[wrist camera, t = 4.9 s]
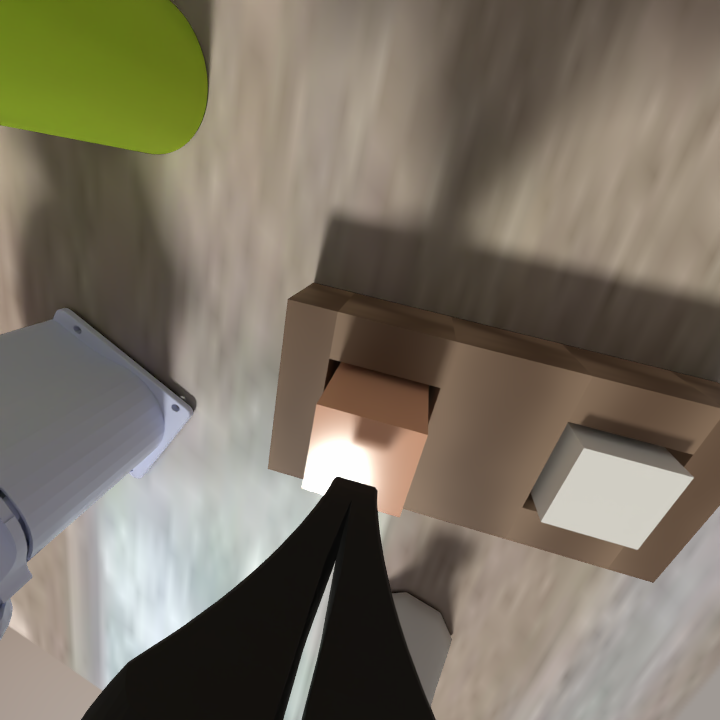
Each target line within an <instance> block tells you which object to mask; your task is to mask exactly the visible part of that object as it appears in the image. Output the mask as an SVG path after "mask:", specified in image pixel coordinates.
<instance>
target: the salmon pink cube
mask: <svg viewBox="0 0 720 720" xmlns="http://www.w3.org/2000/svg"><path fill="white" fill-rule="evenodd" d="M428 396H429V385H427V384H424V383H420V382H416V381H412V380H408V379H405V378H401V377H397V376H393V375H389V374H386V373H382V372H378V371H374V370H371V369H367V368H363V367H359V366H355V365H352V364H348V363H344V362H341V363H340V365H339V366H338V368H337V370H336V371H335V373H334V375H333V377H332V378H331V380H330V382H329V383H328V385H327V387H326V389H325V390H324V392H323V394H322V396H321V397H320V399H319V401H318V402H317V404H316V410H315V415H314V421H313V427H312V432H311V438H310V444H309V450H308V455H307V461H306V467H305V472H304V478H303V484H302V489H306V490H309V491H313V492H316V493H319V494H323V495H324V494H325V492H326V491H327V489H328V488H329V486H330V485H331V483H332V481H333V479H334V478H335V477H337V476H339V477H343V478H346V479H349V480H353V481H356V482H359V483H363V484H366V485H370V486H373V487H376V489H377V491H378V494H377V508H378V511H380V512H383V513H386V514H390V515H393V516H397V517H400V515H401V512H402V509H403V506H404V503H405V500H406V497H407V494H408V492H409V489H410V486H411V483H412V480H413V477H414V474H415V471H416V468H417V465H418V463H419V460H420V457H421V454H422V451H423V448H424V445H425V442H426V439H427V437H428Z"/></svg>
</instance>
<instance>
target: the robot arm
mask: <svg viewBox="0 0 720 720" xmlns="http://www.w3.org/2000/svg"><path fill="white" fill-rule="evenodd" d="M80 328H81V329H80ZM176 405H178V407H179V408H178V407H177V406H176ZM192 415H193V410H192V408H191V407H190V406H189V405H188V404H187V403H186V402H184V401H183V400H182V399H181V398H179V397H178V396H177V395H176V394H174V393H173V392H172V391H171V390H169V389H168V388H167V387H166V386H165V385H163V384H162V383H161V382H160V381H158V380H157V379H156V378H155V377H153V376H152V375H151V374H150V373H148V372H147V371H146V370H145V369H143V368H142V367H141V366H140V365H138V364H137V363H136V362H135V361H133V360H132V359H131V358H130V357H129V356H127V355H126V354H125V353H124V352H122V351H121V350H120V349H119V348H117V347H116V346H115V345H114V344H112V343H111V342H110V341H109V340H107V339H106V338H105V337H104V336H102V335H101V334H100V333H99V332H98V331H96V330H95V329H94V328H93V327H91V326H90V325H89V324H88V323H86V322H85V321H84V320H83V319H81V318H80V317H79V316H78V315H76V314H75V313H74V312H73V311H71V310H70V309H68V308H62V309H59V310H57V311H56V313H55V315H54V317H53V319H52V320H48V321H45V322H41V323H38V324H35V325H31V326H28V327H24V328H21V329H18V330H14V331H11V332H7V333H4V334H1V335H0V640H1V639H2V637H3V635H4V633H5V631H6V629H7V627H8V625H9V622H10V619H11V616H12V603H11V600H10V598H11V597H12V596H13V595H14V594H15V593H16V592H17V591H18V590H19V589H20V588H22V587H23V586H24V585H25V584H26V583H27V582H28V581H29V580H30V579H31V578H32V574H31V572H30V571H29V569H28V566H27V562H28V561H29V560H30V559H31V558H32V557H33V556H35V555H36V554H37V553H38V552H39V551H40V550H41V549H43V548H44V547H45V546H46V545H47V544H48V543H49V542H51V541H52V540H53V539H54V538H55V537H56V536H57V535H59V534H60V533H61V532H62V531H63V530H64V529H65V528H66V527H68V526H69V525H70V524H71V523H72V522H73V521H74V520H76V519H77V518H78V517H79V516H80V515H81V514H82V513H84V512H85V511H86V510H87V509H88V508H89V507H90V506H92V505H93V504H94V503H95V502H96V501H97V500H98V499H100V498H101V497H102V496H103V495H104V494H105V493H106V492H107V491H109V490H110V489H111V488H112V487H113V486H114V485H115V484H117V483H118V482H119V481H120V480H121V479H122V478H123V477H125V476H126V475H127V474H128V473H129V474H130V475H132V476H133V477H135V478H142V477H143V476H144V475H145V474H146V473H147V472H148V470H149V469H150V468H151V467H152V465H153V464H154V463H155V462H156V460H157V459H158V458H159V457H160V455H161V454H162V453H163V452H164V450H165V449H166V448H167V447H168V445H169V444H170V443H171V442H172V440H173V439H174V438H175V437H176V435H177V434H178V433H179V432H180V430H181V429H182V428H183V427H184V425H185V424H186V423H187V422H188V420H189V419H190V418H191V417H192ZM377 494H378V491H377V489H376V487H373V486H370V485H366V484H363V483H359V482H356V481H353V480H349V479H346V478H343V477H339V476H337V477H335V478H334V479H333V481H332V483H331V485H330V486H329V488H328V489H327V491H326V492H325V494H324V495H323V497H322V498H321V499H320V501H319V502H318V503H317V505H316V506H315V507H314V509H313V510H312V511H311V512H310V513H309V515H308V516H307V517H306V518H305V520H304V521H303V522H302V523H301V524H300V525H299V527H298V528H297V529H296V530H295V531H294V532H293V533H292V534H291V535H290V536H289V537H288V538H287V539H286V540H285V542H284V543H283V544H282V545H281V546H280V547H279V548H278V549H277V550H276V551H275V552H274V553H273V554H272V555H271V556H270V557H269V558H268V559H266V560H265V561H264V562H263V563H262V564H261V565H260V566H259V567H258V568H257V569H256V570H254V571H253V572H252V573H251V574H250V575H249V576H248V577H246V578H245V579H244V580H243V581H242V582H240V583H239V584H238V585H237V586H236V587H234V588H233V589H232V590H231V591H230V592H228V593H227V594H226V595H225V596H223V597H222V598H221V599H220V600H218V601H217V602H216V603H214V604H213V605H211V606H210V607H209V608H207V609H206V610H205V611H203V612H202V613H201V614H199V615H198V616H196V617H195V618H194V619H192V620H191V621H190V622H188V623H187V624H186V625H184V626H183V627H181V628H180V629H178V630H177V631H175V632H174V633H172V634H171V635H169V636H168V637H166V638H165V639H163V640H162V641H160V642H158V643H157V644H155V645H154V646H152V647H151V648H149V649H148V650H146V651H145V652H143V653H142V654H140V655H138V656H137V657H135V658H134V659H132V660H131V661H129V662H128V663H127V664H126V665H125V666H124V667H123V668H122V670H121V671H120V672H119V673H118V674H117V675H116V676H115V677H114V678H113V680H112V681H111V682H110V683H109V684H108V685H107V687H106V688H105V689H104V690H103V691H102V693H101V694H100V695H99V696H98V698H97V699H96V700H95V701H94V703H93V704H92V705H91V706H90V708H89V709H88V710H87V712H86V713H85V715H84V716H83V718H82V719H81V720H283V718H284V715H285V711H286V708H287V704H288V701H289V697H290V694H291V690H292V687H293V683H294V680H295V676H296V673H297V669H298V666H299V663H300V659H301V656H302V652H303V649H304V646H305V643H306V640H307V637H308V634H309V631H310V629H311V626H312V623H313V620H314V618H315V615H316V612H317V610H318V607H319V604H320V602H321V599H322V596H323V593H324V591H325V588H326V585H327V583H328V580H329V577H330V574H331V572H332V569H333V566H334V563H335V568H334V573H333V579H332V584H331V590H330V595H329V601H328V606H327V612H326V617H325V623H324V628H323V634H322V639H321V644H320V649H319V653H318V658H317V662H316V666H315V670H314V673H313V677H312V681H311V685H310V689H309V693H308V697H307V701H306V705H305V709H304V712H303V716H302V720H436V719H435V717H434V714H433V712H432V709H431V707H430V705H429V702H428V700H427V697H426V695H425V692H424V690H423V687H422V684H421V682H420V679H419V676H418V674H417V671H416V668H415V665H414V663H413V660H412V657H411V654H410V652H409V649H408V646H407V643H406V640H405V637H404V634H403V631H402V627H401V624H400V621H399V618H398V614H397V611H396V607H395V604H394V600H393V596H392V592H391V588H390V584H389V580H388V575H387V571H386V566H385V561H384V556H383V550H382V544H381V537H380V530H379V521H378V508H377ZM335 561H336V562H335Z"/></svg>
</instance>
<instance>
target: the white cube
mask: <svg viewBox="0 0 720 720" xmlns="http://www.w3.org/2000/svg"><path fill="white" fill-rule="evenodd" d="M693 478H694V477H693V476H692V475H691V474H690V473H689V472H688V471H687V470H686V469H685V468H684V467H683V466H682V465H681V464H680V463H679V462H678V461H677V460H676V459H675V458H674V456H673V455H672V454H671V453H670V452H669V451H668V450H667V449H666V448H665V447H662V446H658V445H654V444H651V443H647V442H643V441H639V440H635V439H632V438H628V437H624V436H620V435H617V434H613V433H609V432H605V431H601V430H598V429H594V428H590V427H586V426H582V425H579V424H575V423H571V422H568V423H567V425H566V427H565V429H564V431H563V433H562V435H561V436H560V438H559V440H558V442H557V444H556V446H555V448H554V449H553V451H552V453H551V455H550V457H549V459H548V461H547V462H546V464H545V466H544V468H543V470H542V472H541V474H540V475H539V477H538V479H537V481H536V483H535V485H534V487H533V488H532V490H531V492H530V493H531V495H532V498H533V501H534V504H535V507H536V510H537V513H538V515H539V518H540V521H541V522H543V523H546V524H550V525H553V526H557V527H560V528H564V529H567V530H570V531H574V532H577V533H581V534H584V535H588V536H591V537H595V538H598V539H602V540H605V541H609V542H612V543H615V544H619V545H622V546H626V547H629V548H633V549H636V550H638V549H639V548H640V546H641V545H642V544H643V542H644V541H645V540H646V539H647V537H648V536H649V535H650V533H651V532H652V531H653V530H654V528H655V527H656V526H657V525H658V523H659V522H660V521H661V519H662V518H663V517H664V516H665V514H666V513H667V512H668V510H669V509H670V508H671V507H672V505H673V504H674V503H675V501H676V500H677V499H678V498H679V496H680V495H681V494H682V493H683V491H684V490H685V489H686V487H687V486H688V485H689V484H690V482H691V481H692V480H693Z"/></svg>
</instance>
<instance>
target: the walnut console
mask: <svg viewBox="0 0 720 720" xmlns="http://www.w3.org/2000/svg"><path fill="white" fill-rule="evenodd" d="M341 362H344V363H348V364H352V365H355V366H359V367H363V368H367V369H371V370H374V371H378V372H382V373H386V374H389V375H393V376H397V377H401V378H405V379H408V380H412V381H416V382H420V383H424V384H427V385H429V396H428V437H427V439H426V442H425V445H424V448H423V451H422V454H421V457H420V460H419V463H418V465H417V468H416V471H415V474H414V477H413V480H412V483H411V486H410V489H409V492H408V494H407V497H406V500H405V503H404V506H403V509H406V510H409V511H413V512H416V513H419V514H423V515H426V516H429V517H433V518H436V519H440V520H443V521H446V522H450V523H453V524H457V525H460V526H463V527H467V528H470V529H473V530H477V531H480V532H484V533H487V534H490V535H494V536H497V537H501V538H504V539H507V540H511V541H514V542H517V543H521V544H524V545H528V546H531V547H534V548H538V549H541V550H545V551H548V552H551V553H555V554H558V555H562V556H565V557H568V558H572V559H575V560H578V561H582V562H585V563H589V564H592V565H595V566H599V567H602V568H606V569H609V570H612V571H616V572H619V573H622V574H626V575H629V576H633V577H636V578H639V579H643V580H646V581H650V582H653V583H654V581H655V580H656V579H657V578H658V577H659V576H660V574H661V573H662V572H663V571H664V570H665V569H666V567H667V566H668V565H669V564H670V563H671V562H672V560H673V559H674V558H675V557H676V556H677V555H678V553H679V552H680V551H681V550H682V549H683V548H684V546H685V545H686V544H687V543H688V542H689V541H690V539H691V538H692V537H693V536H694V535H695V534H696V532H697V531H698V530H699V529H700V528H701V527H702V525H703V524H704V523H705V522H706V521H707V520H708V518H709V517H710V516H711V515H712V514H713V513H714V511H715V510H716V509H717V508H718V507H719V506H720V384H719V383H718V382H714V381H710V380H706V379H702V378H698V377H694V376H689V375H685V374H681V373H677V372H673V371H669V370H665V369H661V368H657V367H653V366H649V365H645V364H641V363H637V362H633V361H629V360H625V359H621V358H617V357H612V356H608V355H604V354H600V353H596V352H592V351H588V350H584V349H580V348H576V347H572V346H568V345H564V344H560V343H556V342H552V341H548V340H544V339H540V338H536V337H531V336H527V335H523V334H519V333H515V332H511V331H507V330H503V329H499V328H495V327H491V326H487V325H483V324H479V323H475V322H471V321H467V320H463V319H459V318H454V317H450V316H446V315H442V314H438V313H434V312H430V311H426V310H422V309H418V308H414V307H410V306H406V305H402V304H398V303H394V302H390V301H386V300H382V299H377V298H373V297H369V296H365V295H361V294H357V293H353V292H349V291H345V290H341V289H337V288H333V287H329V286H325V285H321V284H317V283H312V284H311V285H309V286H308V287H306V288H305V289H303V290H302V291H300V292H298V293H297V294H295V295H294V296H292V297H291V298H289V299H288V303H287V311H286V320H285V328H284V337H283V345H282V354H281V362H280V371H279V379H278V388H277V396H276V404H275V413H274V421H273V430H272V438H271V447H270V455H269V464H268V469H270V470H274V471H277V472H280V473H284V474H287V475H291V476H294V477H297V478H301V479H303V478H304V472H305V467H306V461H307V455H308V450H309V444H310V438H311V432H312V427H313V421H314V415H315V410H316V404H317V402H318V401H319V399H320V397H321V396H322V394H323V392H324V390H325V389H326V387H327V385H328V383H329V382H330V380H331V378H332V377H333V375H334V373H335V371H336V370H337V368H338V366H339V365H340V363H341ZM568 422H571V423H575V424H579V425H582V426H586V427H590V428H594V429H598V430H601V431H605V432H609V433H613V434H617V435H620V436H624V437H628V438H632V439H635V440H639V441H643V442H647V443H651V444H654V445H658V446H662V447H665V448H666V449H667V450H668V451H669V452H670V453H671V454H672V455H673V456H674V458H675V459H676V460H677V461H678V462H679V463H680V464H681V465H682V466H683V467H684V468H685V469H686V470H687V471H688V472H689V473H690V474H691V475H692V476H693V477H694V478H693V480H692V481H691V482H690V484H689V485H688V486H687V487H686V489H685V490H684V491H683V493H682V494H681V495H680V496H679V498H678V499H677V500H676V501H675V503H674V504H673V505H672V507H671V508H670V509H669V510H668V512H667V513H666V514H665V516H664V517H663V518H662V519H661V521H660V522H659V523H658V525H657V526H656V527H655V528H654V530H653V531H652V532H651V533H650V535H649V536H648V537H647V539H646V540H645V541H644V542H643V544H642V545H641V546H640V548H639V549H638V550H636V549H633V548H629V547H626V546H622V545H619V544H615V543H612V542H609V541H605V540H602V539H598V538H595V537H591V536H588V535H584V534H581V533H577V532H574V531H570V530H567V529H564V528H560V527H557V526H553V525H550V524H546V523H543V522H541V521H540V518H539V515H538V513H537V510H536V507H535V504H534V501H533V498H532V495H531V493H530V492H531V490H532V488H533V487H534V485H535V483H536V481H537V479H538V477H539V475H540V474H541V472H542V470H543V468H544V466H545V464H546V462H547V461H548V459H549V457H550V455H551V453H552V451H553V449H554V448H555V446H556V444H557V442H558V440H559V438H560V436H561V435H562V433H563V431H564V429H565V427H566V425H567V423H568Z"/></svg>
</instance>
